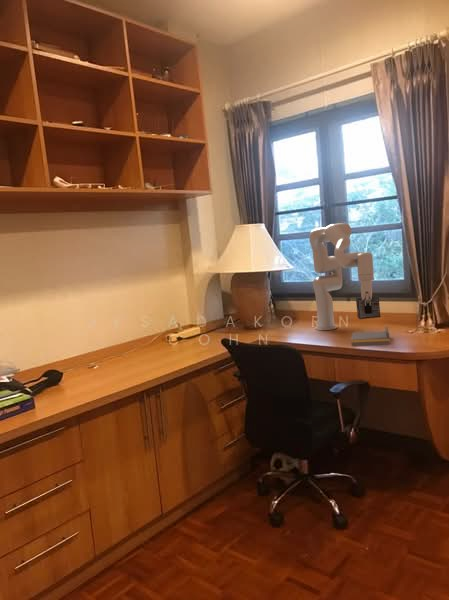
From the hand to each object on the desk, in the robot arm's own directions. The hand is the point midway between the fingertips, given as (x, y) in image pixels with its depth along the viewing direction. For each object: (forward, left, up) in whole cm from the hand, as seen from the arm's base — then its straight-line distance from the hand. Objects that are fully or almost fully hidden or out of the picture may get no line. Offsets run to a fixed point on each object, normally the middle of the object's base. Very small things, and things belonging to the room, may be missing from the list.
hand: (368, 311), depth 244 cm
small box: (0, 0, -3) cm, 3 cm away
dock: (0, 0, -15) cm, 15 cm away
